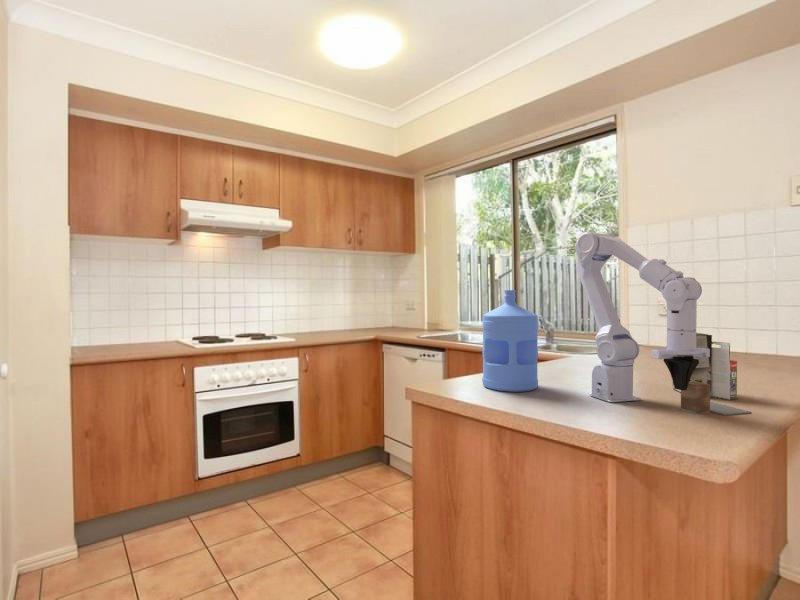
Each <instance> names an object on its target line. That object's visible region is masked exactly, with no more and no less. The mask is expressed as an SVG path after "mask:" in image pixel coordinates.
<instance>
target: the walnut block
mask: <svg viewBox="0 0 800 600" xmlns="http://www.w3.org/2000/svg"><path fill="white" fill-rule="evenodd" d="M710 402H711V396H710V384H706V383H702V382H697V381H689V384H688V387H687V390H681V392H680V410H681V411H685V412H689V413H691V414H695V415H697V414H709V413H711V412H710Z"/></svg>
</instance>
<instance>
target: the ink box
mask: <svg viewBox="0 0 800 600" xmlns="http://www.w3.org/2000/svg"><path fill="white" fill-rule="evenodd" d="M712 345H717V346H720V347H714V346H712V358H711V396H710V397H713V398H717V397H718V398H717V399H722V398H723V400H736V399H737V397H738V395H737V394H738V361H737V360H731V357H730V355H731V343H730V342H725V341H724V342H723V341H713V340H712Z"/></svg>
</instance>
